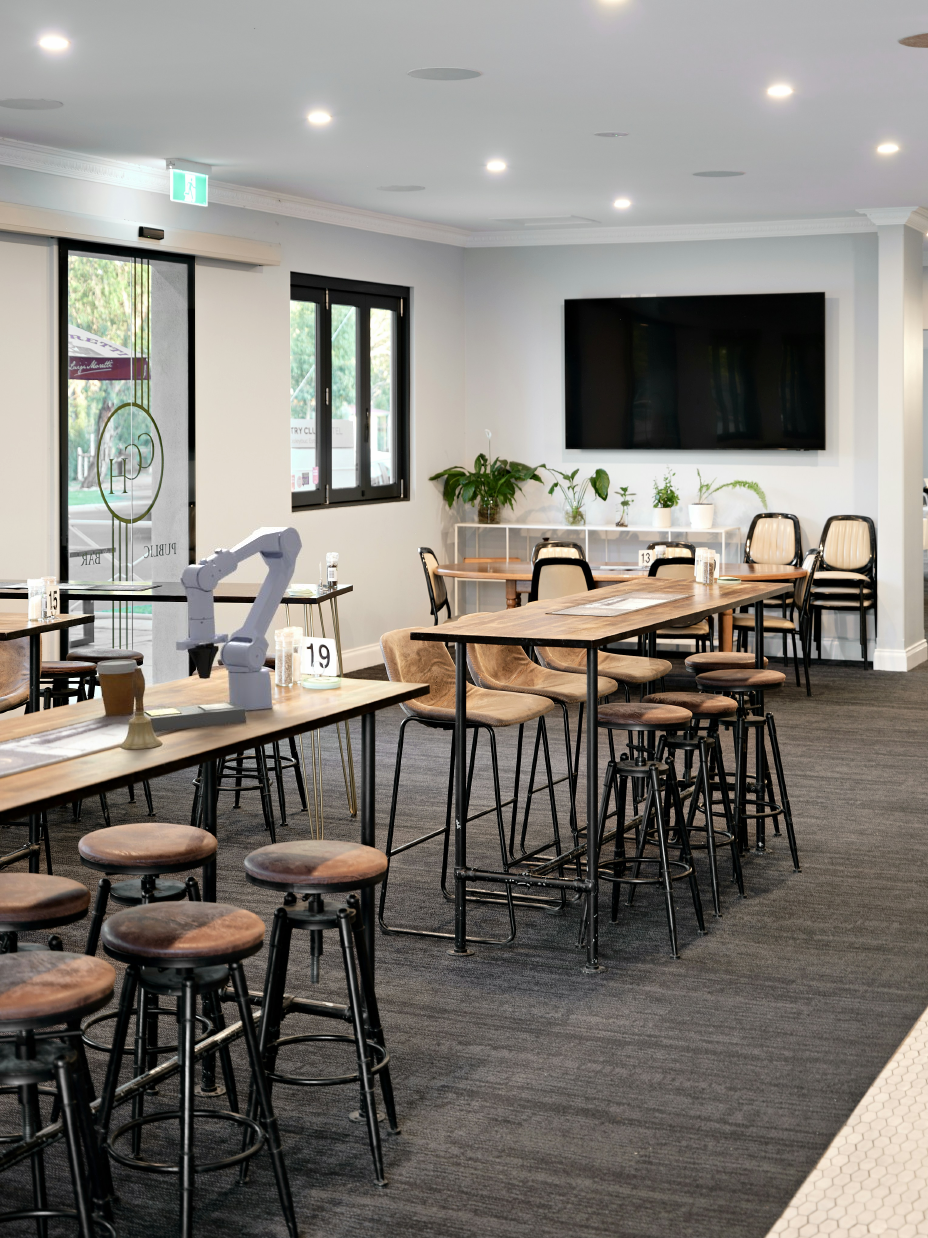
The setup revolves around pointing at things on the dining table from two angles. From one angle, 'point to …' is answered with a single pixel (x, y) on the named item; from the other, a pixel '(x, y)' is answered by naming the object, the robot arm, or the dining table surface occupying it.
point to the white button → (216, 707)
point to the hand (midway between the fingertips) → (204, 678)
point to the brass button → (162, 712)
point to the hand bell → (140, 719)
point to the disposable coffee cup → (117, 686)
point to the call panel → (197, 717)
